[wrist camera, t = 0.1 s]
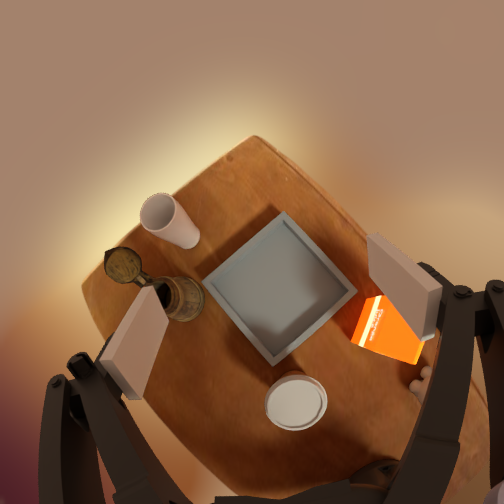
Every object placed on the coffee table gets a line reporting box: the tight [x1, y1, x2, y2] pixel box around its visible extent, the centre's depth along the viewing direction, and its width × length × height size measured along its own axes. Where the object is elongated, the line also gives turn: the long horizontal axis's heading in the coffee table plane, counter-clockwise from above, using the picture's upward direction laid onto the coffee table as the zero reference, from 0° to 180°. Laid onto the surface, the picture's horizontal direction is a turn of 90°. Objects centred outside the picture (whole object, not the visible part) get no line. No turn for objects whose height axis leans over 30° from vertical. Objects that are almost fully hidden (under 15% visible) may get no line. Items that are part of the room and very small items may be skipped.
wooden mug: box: [104, 247, 205, 322], centre depth 44 cm, size 9×14×18 cm, turn 48°
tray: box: [201, 211, 358, 367], centre depth 49 cm, size 20×20×4 cm
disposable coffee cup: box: [264, 370, 327, 431], centre depth 41 cm, size 10×10×12 cm
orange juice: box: [351, 295, 424, 365], centre depth 37 cm, size 8×9×20 cm
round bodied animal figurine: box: [409, 366, 432, 405], centre depth 39 cm, size 7×12×8 cm, turn 41°
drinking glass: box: [140, 193, 200, 249], centre depth 48 cm, size 7×7×15 cm
